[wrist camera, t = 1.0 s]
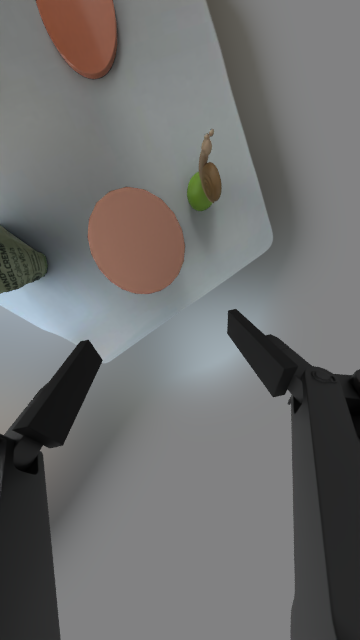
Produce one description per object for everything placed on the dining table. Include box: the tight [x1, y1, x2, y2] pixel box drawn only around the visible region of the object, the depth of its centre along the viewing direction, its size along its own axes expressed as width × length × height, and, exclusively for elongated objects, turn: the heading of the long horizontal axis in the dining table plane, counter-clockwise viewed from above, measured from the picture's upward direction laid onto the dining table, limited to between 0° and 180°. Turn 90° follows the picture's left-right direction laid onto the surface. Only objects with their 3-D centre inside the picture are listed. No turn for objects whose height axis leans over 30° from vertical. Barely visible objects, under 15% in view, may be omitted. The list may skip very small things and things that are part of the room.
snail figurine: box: [187, 129, 221, 211], centre depth 22 cm, size 5×6×12 cm
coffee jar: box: [88, 187, 185, 294], centre depth 23 cm, size 11×11×18 cm
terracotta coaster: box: [36, 0, 117, 79], centre depth 17 cm, size 9×9×1 cm
